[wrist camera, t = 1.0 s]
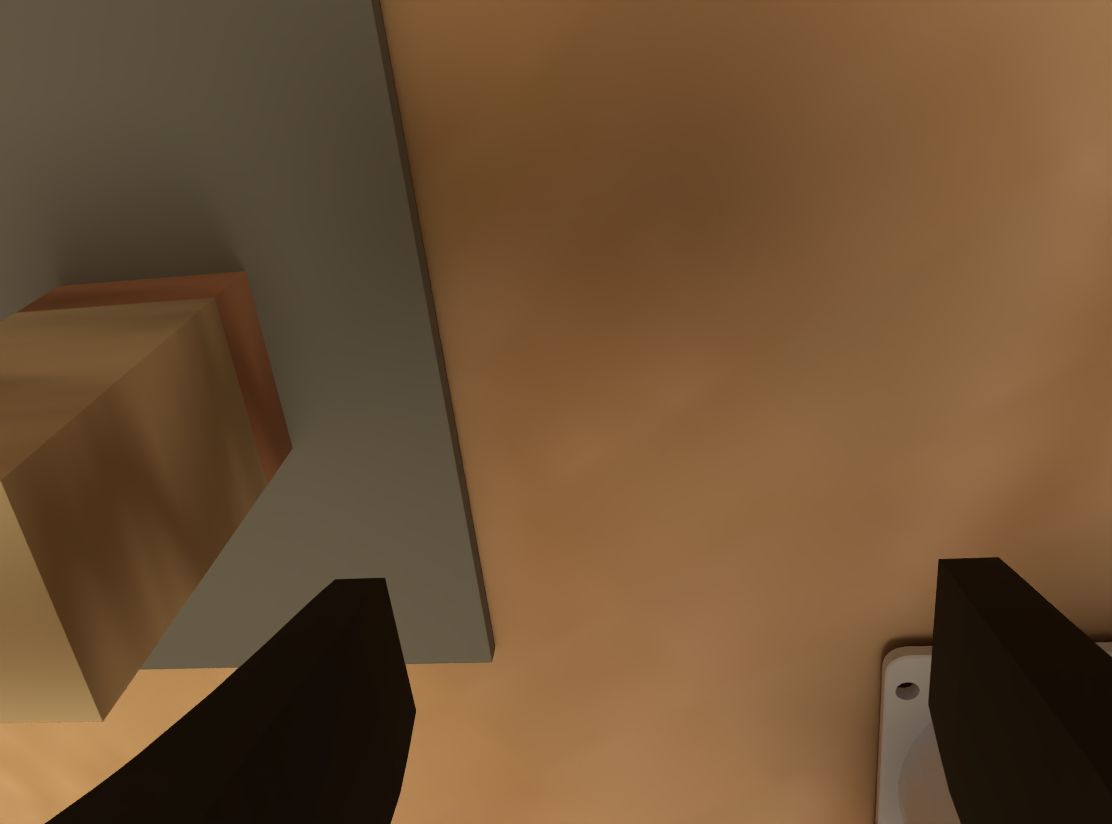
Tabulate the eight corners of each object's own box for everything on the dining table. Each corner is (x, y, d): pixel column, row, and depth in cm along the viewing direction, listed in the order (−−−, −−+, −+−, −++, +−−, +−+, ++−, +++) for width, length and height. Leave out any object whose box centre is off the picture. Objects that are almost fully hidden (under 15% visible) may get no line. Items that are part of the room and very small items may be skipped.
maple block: (292, 448, 21) (102, 721, 14) (120, 457, 22) (-147, 724, 14) (245, 270, 19) (0, 480, 12) (58, 285, 20) (-279, 494, 13)
